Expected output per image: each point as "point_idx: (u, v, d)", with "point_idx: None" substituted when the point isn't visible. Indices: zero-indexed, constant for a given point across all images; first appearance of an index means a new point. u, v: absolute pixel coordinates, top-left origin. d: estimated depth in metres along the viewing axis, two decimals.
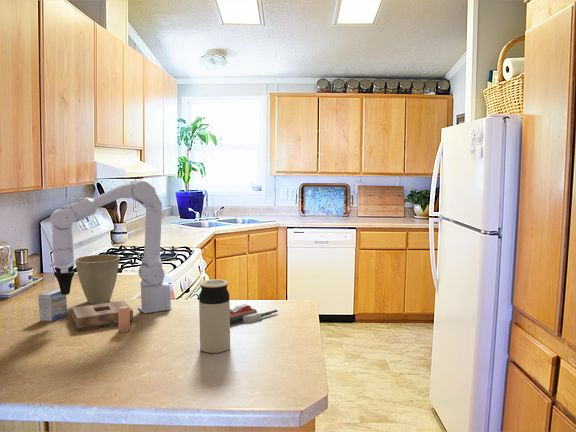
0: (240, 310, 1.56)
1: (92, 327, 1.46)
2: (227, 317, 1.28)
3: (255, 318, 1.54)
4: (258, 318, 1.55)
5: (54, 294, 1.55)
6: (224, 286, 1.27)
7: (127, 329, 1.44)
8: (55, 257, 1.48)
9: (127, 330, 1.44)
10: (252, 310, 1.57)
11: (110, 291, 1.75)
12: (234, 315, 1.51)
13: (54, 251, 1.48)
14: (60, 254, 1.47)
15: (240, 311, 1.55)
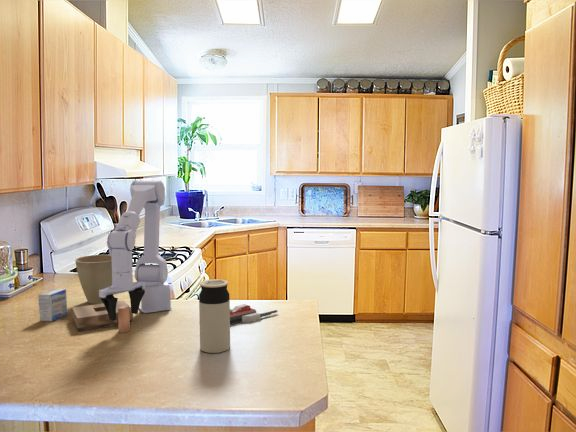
0: (239, 310, 1.56)
1: (92, 327, 1.46)
2: (227, 317, 1.28)
3: (254, 318, 1.54)
4: (257, 318, 1.55)
5: (54, 294, 1.55)
6: (224, 286, 1.27)
7: (127, 329, 1.44)
8: None
9: (127, 330, 1.44)
10: (251, 310, 1.57)
11: None
12: (233, 315, 1.52)
13: None
14: (112, 277, 1.41)
15: (239, 311, 1.55)
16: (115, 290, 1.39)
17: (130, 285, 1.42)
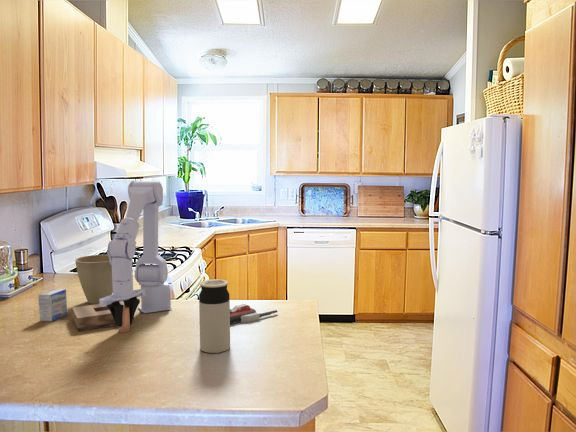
0: (238, 310, 1.56)
1: (92, 327, 1.46)
2: (227, 317, 1.28)
3: (253, 318, 1.54)
4: (256, 318, 1.54)
5: (54, 294, 1.55)
6: (224, 286, 1.27)
7: (127, 329, 1.44)
8: None
9: (127, 330, 1.44)
10: (251, 310, 1.57)
11: (110, 291, 1.75)
12: (232, 315, 1.52)
13: None
14: (113, 285, 1.42)
15: (239, 311, 1.55)
16: (115, 299, 1.40)
17: (130, 293, 1.43)
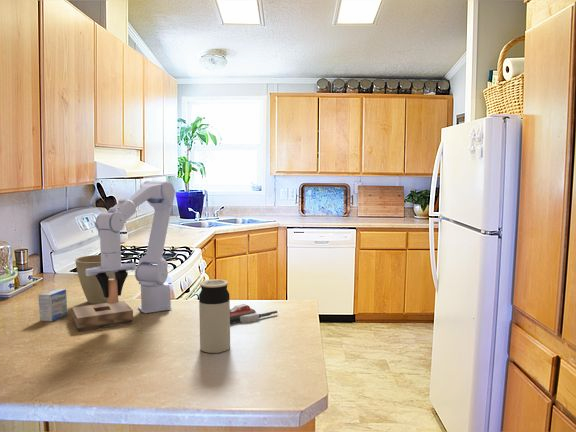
0: (238, 310, 1.56)
1: (92, 327, 1.46)
2: (227, 317, 1.28)
3: (252, 318, 1.54)
4: (256, 319, 1.54)
5: (54, 294, 1.55)
6: (224, 286, 1.27)
7: (114, 301, 1.47)
8: None
9: (114, 301, 1.47)
10: (250, 310, 1.56)
11: None
12: (231, 315, 1.52)
13: None
14: None
15: (238, 311, 1.55)
16: (100, 270, 1.44)
17: (116, 266, 1.46)
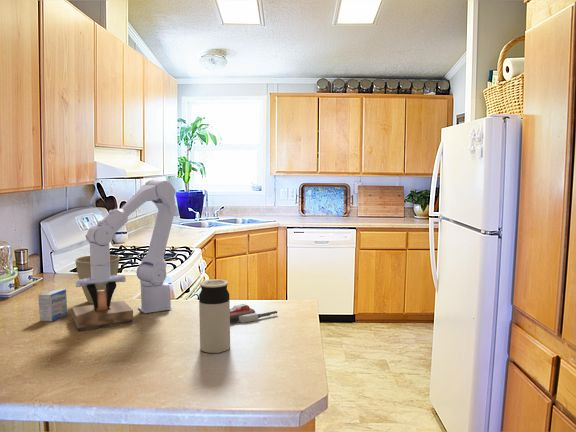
0: (237, 310, 1.56)
1: (92, 327, 1.46)
2: (227, 317, 1.28)
3: (251, 318, 1.53)
4: (255, 318, 1.54)
5: (54, 294, 1.55)
6: (224, 286, 1.27)
7: None
8: None
9: None
10: (250, 310, 1.56)
11: None
12: (230, 314, 1.52)
13: None
14: None
15: (237, 311, 1.55)
16: (88, 281, 1.49)
17: (104, 278, 1.51)
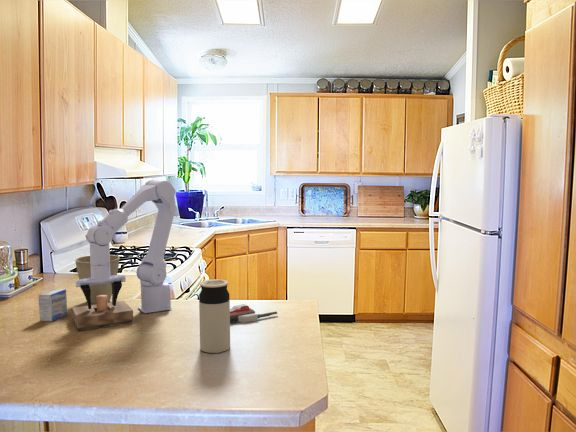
0: (237, 310, 1.56)
1: (92, 327, 1.46)
2: (227, 317, 1.28)
3: (251, 319, 1.53)
4: (254, 319, 1.54)
5: (54, 294, 1.55)
6: (224, 286, 1.27)
7: None
8: None
9: None
10: (250, 310, 1.56)
11: (110, 291, 1.75)
12: None
13: None
14: None
15: (237, 311, 1.55)
16: (88, 281, 1.49)
17: (104, 278, 1.51)
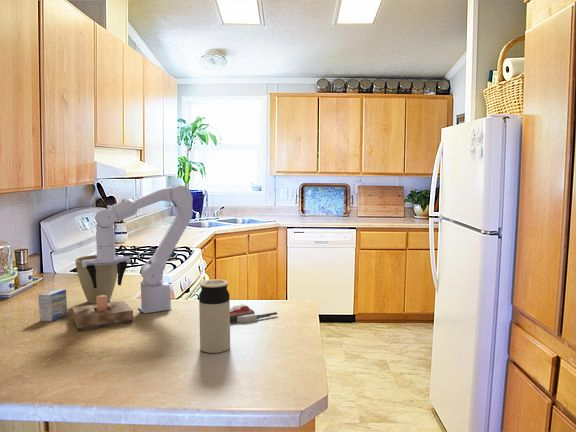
0: (237, 310, 1.56)
1: (92, 327, 1.46)
2: (227, 317, 1.28)
3: (250, 319, 1.53)
4: (253, 319, 1.53)
5: (54, 294, 1.55)
6: (224, 286, 1.27)
7: None
8: None
9: None
10: (249, 311, 1.56)
11: (110, 291, 1.75)
12: None
13: None
14: None
15: (236, 311, 1.55)
16: (95, 261, 1.56)
17: (109, 258, 1.58)
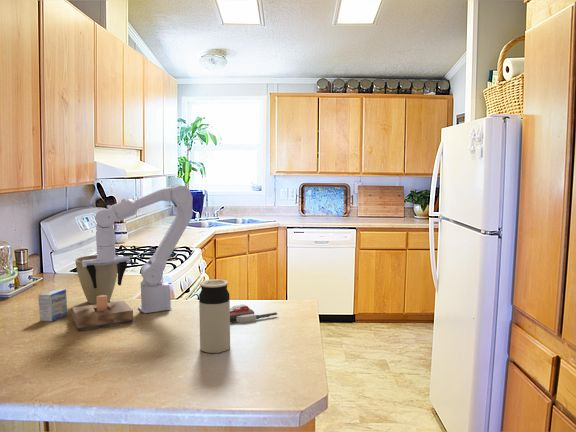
0: (236, 310, 1.56)
1: (92, 327, 1.46)
2: (227, 317, 1.28)
3: (249, 319, 1.53)
4: (253, 319, 1.53)
5: (54, 294, 1.55)
6: (224, 286, 1.27)
7: None
8: None
9: None
10: (249, 311, 1.56)
11: (110, 291, 1.75)
12: None
13: None
14: None
15: (236, 311, 1.55)
16: (95, 261, 1.56)
17: (109, 258, 1.58)
